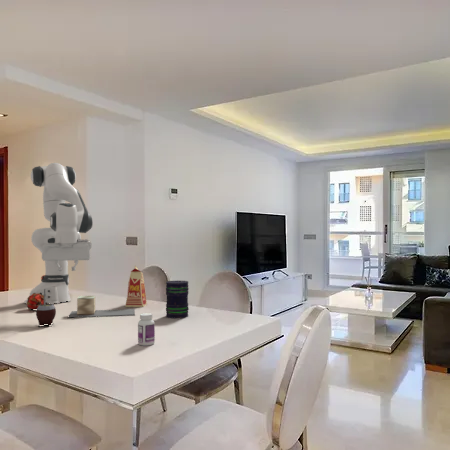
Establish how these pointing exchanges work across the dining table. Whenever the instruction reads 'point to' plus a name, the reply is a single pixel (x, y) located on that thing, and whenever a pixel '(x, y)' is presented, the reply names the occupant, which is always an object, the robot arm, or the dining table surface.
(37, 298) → the dragon fruit
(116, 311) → the mat
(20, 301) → the dining table surface
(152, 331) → the pill bottle
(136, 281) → the milk carton
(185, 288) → the navy striped can
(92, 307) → the block
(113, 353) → the dining table surface
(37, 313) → the mate gourd
